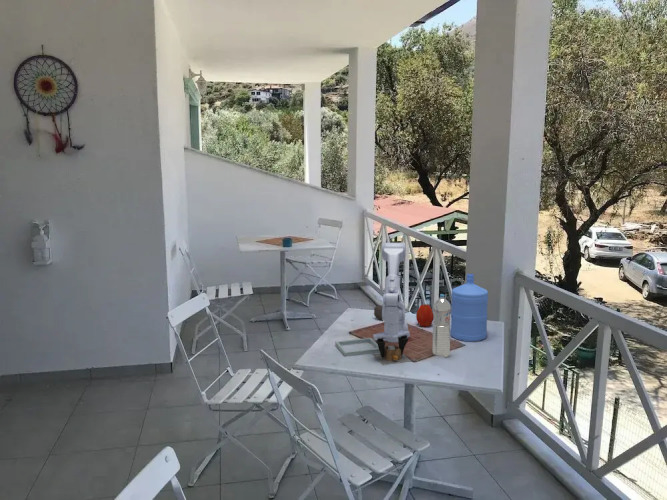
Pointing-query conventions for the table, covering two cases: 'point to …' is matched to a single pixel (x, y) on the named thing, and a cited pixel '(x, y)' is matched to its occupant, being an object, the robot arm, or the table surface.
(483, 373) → the table surface
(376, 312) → the perforated stone tool
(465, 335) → the water jug
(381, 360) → the post board
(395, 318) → the robot arm
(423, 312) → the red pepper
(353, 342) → the pale green tray
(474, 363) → the table surface
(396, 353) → the walnut collar
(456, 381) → the table surface
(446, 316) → the water bottle
